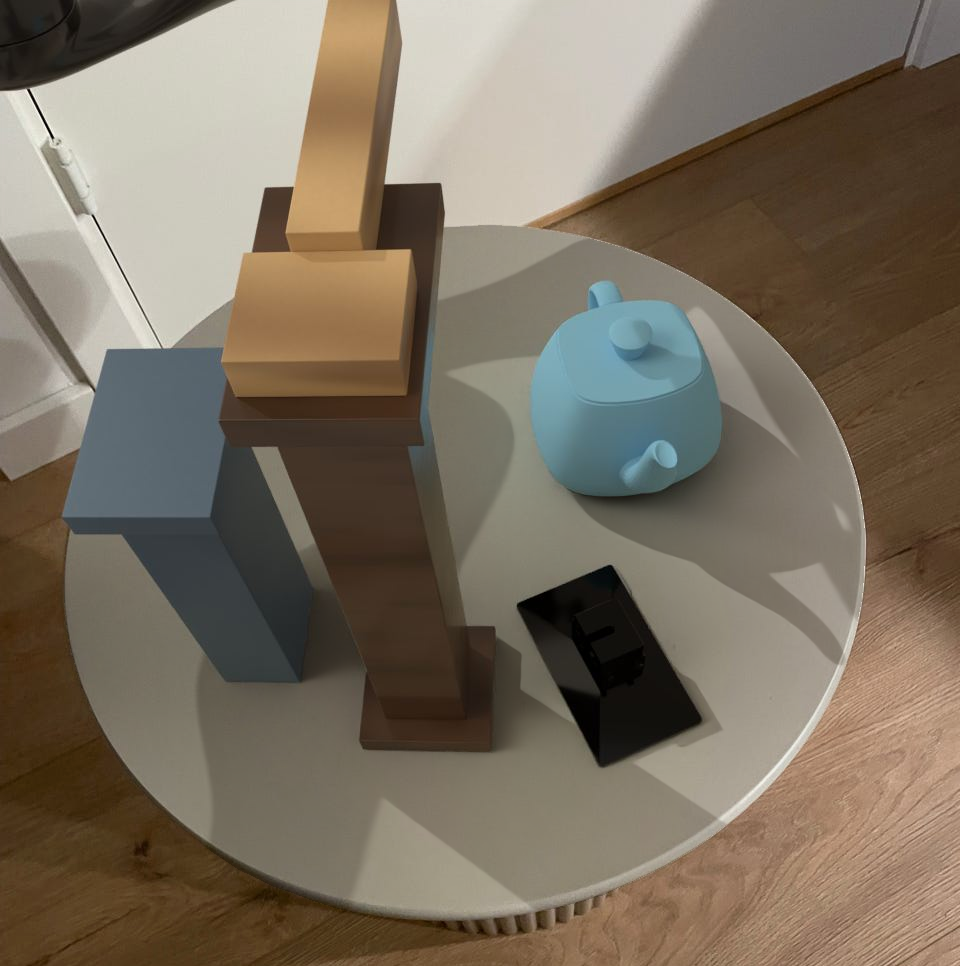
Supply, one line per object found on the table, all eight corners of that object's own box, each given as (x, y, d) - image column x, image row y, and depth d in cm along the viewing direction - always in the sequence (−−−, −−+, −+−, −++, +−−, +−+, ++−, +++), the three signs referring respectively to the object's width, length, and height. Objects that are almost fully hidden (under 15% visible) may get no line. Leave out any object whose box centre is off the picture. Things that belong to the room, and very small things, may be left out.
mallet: (303, 47, 44) (289, -15, 42) (442, 42, 44) (435, -21, 41) (235, 397, 36) (213, 344, 33) (407, 396, 35) (396, 342, 33)
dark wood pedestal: (379, 588, 69) (251, 186, 40) (498, 589, 68) (454, 181, 40) (362, 750, 64) (202, 421, 35) (491, 752, 63) (434, 419, 35)
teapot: (567, 482, 59) (505, 259, 67) (566, 576, 68) (512, 371, 76) (782, 439, 59) (694, 223, 67) (751, 539, 69) (678, 339, 77)
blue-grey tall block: (229, 568, 70) (106, 348, 51) (330, 568, 70) (243, 346, 51) (205, 703, 66) (60, 517, 47) (313, 704, 65) (210, 517, 46)
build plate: (515, 607, 68) (511, 570, 64) (615, 565, 69) (618, 526, 65) (599, 769, 62) (602, 740, 58) (707, 721, 63) (717, 690, 59)
